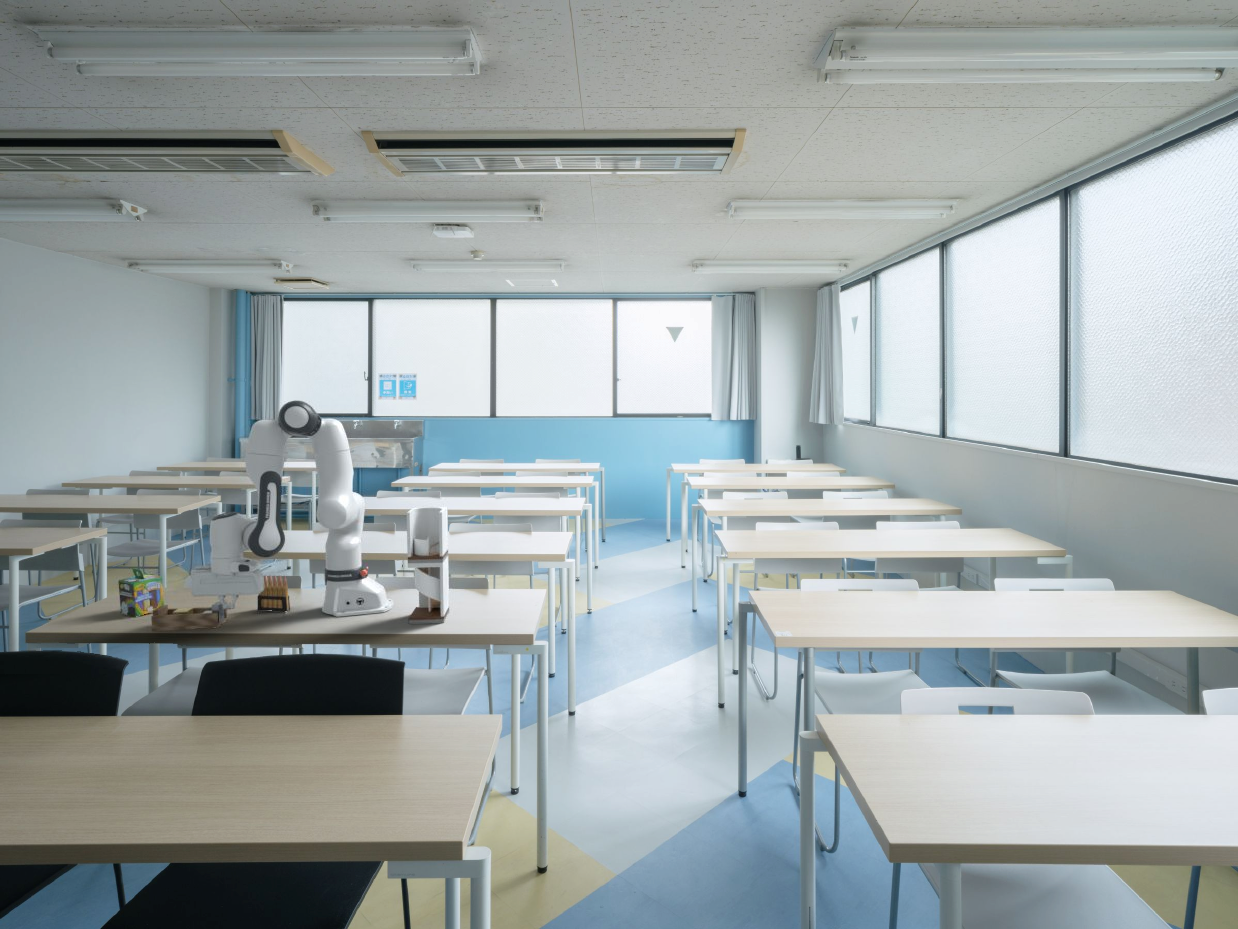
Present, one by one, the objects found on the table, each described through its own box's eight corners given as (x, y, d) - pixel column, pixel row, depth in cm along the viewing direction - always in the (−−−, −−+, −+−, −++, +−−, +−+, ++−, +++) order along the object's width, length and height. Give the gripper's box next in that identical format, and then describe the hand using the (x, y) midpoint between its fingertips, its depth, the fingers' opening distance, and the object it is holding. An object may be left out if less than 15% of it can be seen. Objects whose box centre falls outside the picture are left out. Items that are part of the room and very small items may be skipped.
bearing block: (227, 620, 216) (226, 601, 215) (216, 628, 208) (216, 608, 207) (165, 623, 213) (164, 604, 212) (152, 631, 205) (150, 611, 204)
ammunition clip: (290, 610, 226) (289, 575, 225) (286, 612, 225) (285, 576, 224) (261, 609, 228) (259, 573, 227) (257, 610, 226) (255, 575, 225)
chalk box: (165, 610, 226) (162, 566, 225) (135, 618, 218) (132, 572, 217) (149, 606, 230) (147, 563, 229) (119, 614, 222) (116, 569, 221)
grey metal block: (224, 618, 213) (223, 601, 213) (219, 622, 210) (218, 605, 209) (207, 619, 213) (206, 602, 212) (201, 623, 209) (200, 605, 208)
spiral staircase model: (416, 613, 223) (414, 507, 221) (449, 612, 224) (447, 507, 222) (409, 623, 212) (406, 512, 209) (443, 622, 213) (441, 512, 210)
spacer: (187, 624, 208) (187, 611, 208) (173, 624, 207) (172, 612, 207) (193, 620, 212) (193, 607, 212) (179, 620, 211) (179, 608, 211)
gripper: (185, 568, 206) (187, 613, 207) (258, 566, 209) (260, 610, 210) (195, 563, 212) (196, 607, 213) (265, 561, 215) (267, 604, 216)
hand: (228, 608), depth 212 cm, fingers closed
